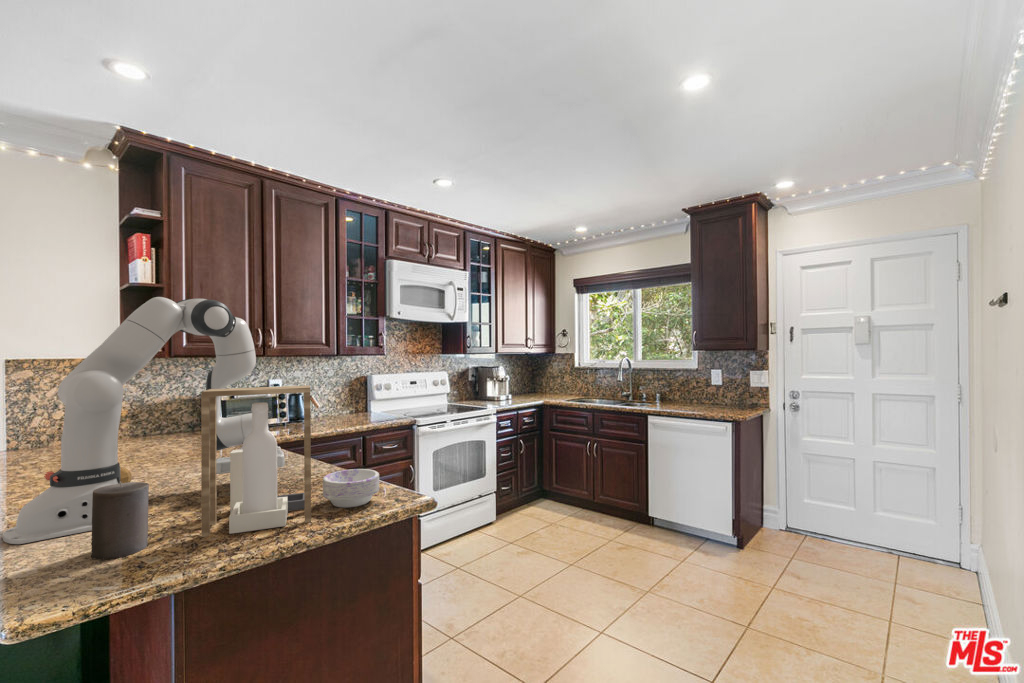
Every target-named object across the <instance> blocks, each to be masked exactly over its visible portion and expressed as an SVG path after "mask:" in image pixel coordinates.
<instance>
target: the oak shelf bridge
mask: <svg viewBox="0 0 1024 683" xmlns="http://www.w3.org/2000/svg"><path fill="white" fill-rule="evenodd" d="M298 393H299V394H301V393H303V449H304V450H303V452H304V453H303V459H304V460H303V462H304V463H303V464H304V465H303V466H304V468H303V471H304V473H303V474H304V478H303V479H304V482H303V485H304V490H303V491H304V492H303V493H304V494H305V509H304V523H305V524H306V523H307V524H308V523H312V462H311V461H312V459H311V457H312V456H311V455H312V453H311V452H312V448H311V446H312V445H311V442H312V440H311V439H312V438H311V435H312V434H311V433H312V432H311V428H312V427H311V420H312V419H311V418H312V417H311V385H310V384H309V385H286V386H285V385H284V386H282V385H281V386H262V387H261V386H260V387H237V388H235V387H234V388H232V387H231V388H224V389H209V390H206V389H205V390H203V391H201V392H200V394H201V395H200V396H201V398H200V399H201V401H200V402H201V409H200V410H201V413H200V414H201V416H200V417H201V425H200V427H201V429H200V432H201V433H200V434H201V437H200V438H201V442H200V443H201V444H200V445H201V449H200V451H201V453H200V455H201V468H200V470H201V471H200V472H201V475H200V476H201V478H200V479H201V480H200V481H201V485H200V486H201V495H200V496H201V497H200V498H201V499H200V500H201V503H200V504H201V509H200V511H201V513H200V514H201V517H200V519H201V520H200V521H201V523H200V524H201V530H200V531H201V532H200V533H201V537H200V538H207V537H210V535H211V526H214V525H217V520H218V519H217V509H218V508H217V474H216V459H217V451H216V396H221V397H231V396H233V397H234V396H253V395H276V394H298Z"/></svg>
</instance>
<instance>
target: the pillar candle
mask: <svg viewBox="0 0 1024 683" xmlns="http://www.w3.org/2000/svg"><path fill="white" fill-rule="evenodd" d="M149 486H150V484H149V483H148V482H142V481H130V482H129V483H121V481H120V484H113V485H108V486H104V487H100V488H97V489H95V490H94V491H93V498H92V530H91V539H90V540H91V543H90V546H91V555H90V558H92V559H94V560H98V561H99V560H100V561H101V560H112V559H117V558H123V557H126V556H130V555H132V554H137V553H138V552H141V551H143V550H145V549H146V548H147V547H148V543H149V542H148V540H149V539H148V537H149V494H150V493H149V489H150V488H149Z"/></svg>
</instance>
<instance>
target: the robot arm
mask: <svg viewBox="0 0 1024 683" xmlns="http://www.w3.org/2000/svg"><path fill="white" fill-rule="evenodd" d="M178 332H182V333H185V334H192V335H194V336H195V335H196V336H207V337H208V336H209V338H210V339H211V340H212V343H213V345H214V352H215V364H214V366H213V369H212V370H210V371H208V373H207V377H206V383H205V390H209V389H227V388H228V387H229V386H230V385H232V384H235V383H237V382H238V381H241V380H243V379H244V378H245V377H247V376H249V374H251V373H252V372H253V370H254V369H255V367H256V365H257V356H256V348H255V344H254V340H253V337H252V336H253V335H252V332H251V330H250V328H249V325H248V323H247V322H246V321H245V320H244V319H243V318H240V317H237V316H234V315H233V313H232V311H231V310H230V309H229V307H228V306H227V305H226V304H225V303H223V302H221V301H219V300H215V299H206V298H202V297H201V298H198V297H197V298H188V299H181V300H179V301H177V302H176V301H173V300H172V299H170V298H167V297H163V296H156V297H152V298H150V299H148V300H147V301H145V303H143V304H141V305H140V306H139V307H138V308H136V309H135V310H134V311H133V312H131V314H129V315H128V317H126V319H124V320H123V321H122V322H121V324H119V325H118V326H117V328H116V329H115V330H114V331H113V332H112V333H111V334H110V335H108V337H107V338H106V339H105V340H104V341H103V342H102V343H101V344H100V345H98V347H97V348H95V349H94V350H93V351H92V352H91V353H90V354H89V355H88V356H87V357H85V358H84V359H83V360H82V361H81V362H80V363H78V365H77V366H75V367H74V369H72V370H71V371H70V372H69V373H68V374H67V375H66V376H65V377H64V378H63V379H62V380H61V381H60V384H58V389H57V395H58V398H59V401H60V402H61V403H62V404H63V405H64V406H65V407H64V418H63V426H62V433H61V437H60V443H61V444H60V469H59V470H57V471H55V472H54V471H47V472H46V473H45V474H44V476H43V478H44V479H45V480H47V481H49V487H48V488H47V489H45V490H44V491H43V492H41V493H40V494H38V495H37V496H36V497H35V498H32V499H31V500H30V501H29V502H27V503H26V504H24V505H23V506H22V508H20V510H19V513H18V516H17V519H16V523H15V526H14V527H10V528H9V529H6V530H5V531H4V532H3V533H2V540H3V542H5V543H6V544H11V545H21V544H23V545H24V544H28V543H32V542H37V541H43V540H44V541H45V540H49V539H53V538H60V537H63V536H70V535H75V534H79V533H84V532H90V531H91V532H92V498H93V491H94V490H95V489H97V488H100V487H104V486H108V485H113V484H119V483H120V467H121V464H120V462H119V456H118V454H119V452H118V451H119V441H118V440H119V430H120V429H119V428H120V422H121V418H122V417H121V416H122V409H123V400H124V399H123V398H124V394H125V393H124V392H125V391H124V390H125V389H124V385H126V383H127V382H129V381H130V380H131V379H132V378H133V377H134V376H135V375H136V374H137V373H139V372H140V371H141V370H142V369H144V368H145V367H146V366H147V365H148V364H149V363H150V362H151V360H152V359H153V358H154V357H155V356H156V355H157V354H158V352H159V351H160V350H161V349H163V347H164V345H166V343H168V341H169V340H170V338H171V337H172V336H173V335H175V334H176V333H178ZM221 397H222V396H216V452H218V451H222V450H225V449H229V448H232V447H236V446H241V447H240V448H239V450H243V443H244V441H245V438H246V437H247V436H248V435H249V434H250V433H251V432H252V412H250V413H245V414H240V415H234V416H228V417H222V415H221V400H222V398H221ZM268 430H269V431H270V432H271V428H270V424H269V423H268ZM285 462H286V460H285V452H284V451H283V450H282V448H281V446H278V445H277V469H278V468H284V467H285ZM222 474H230V456H223V457H218V458H217V457H216V475H222Z"/></svg>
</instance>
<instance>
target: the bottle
mask: <svg viewBox="0 0 1024 683" xmlns="http://www.w3.org/2000/svg"><path fill="white" fill-rule="evenodd" d="M250 410H251V413H252V432H251V433H250V434H249V435H248V436H247V437H246V438H245V441H244V443H243V445H242V446H243V512H242V514H245V513H253V512H261V511H269V510H276V509H278V507H277V496H278V468H277V446H278V442H277V439H276V437H275V434H273V433H272V432H271V430H270V431H269V430H268V424H269V403H268V402H253V403H252V404H251V409H250Z"/></svg>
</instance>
